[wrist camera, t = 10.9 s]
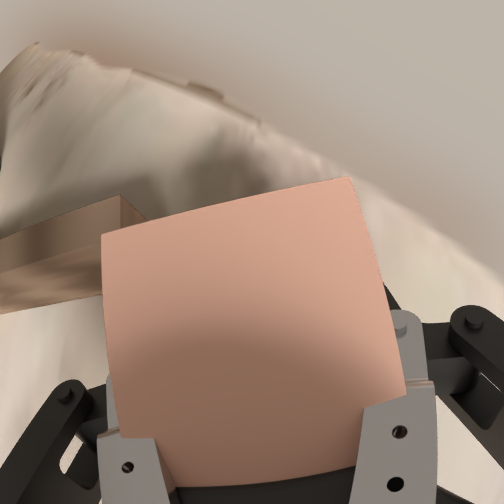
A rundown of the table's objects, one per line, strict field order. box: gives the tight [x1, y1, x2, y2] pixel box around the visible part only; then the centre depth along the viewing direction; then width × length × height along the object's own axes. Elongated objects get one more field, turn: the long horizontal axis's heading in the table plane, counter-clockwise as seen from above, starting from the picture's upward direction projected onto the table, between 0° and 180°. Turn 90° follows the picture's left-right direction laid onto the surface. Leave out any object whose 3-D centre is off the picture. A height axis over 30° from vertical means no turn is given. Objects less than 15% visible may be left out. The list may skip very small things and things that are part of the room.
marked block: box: [101, 176, 407, 487], centre depth 10 cm, size 5×5×10 cm
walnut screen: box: [0, 195, 148, 314], centre depth 17 cm, size 22×2×7 cm, turn 100°
